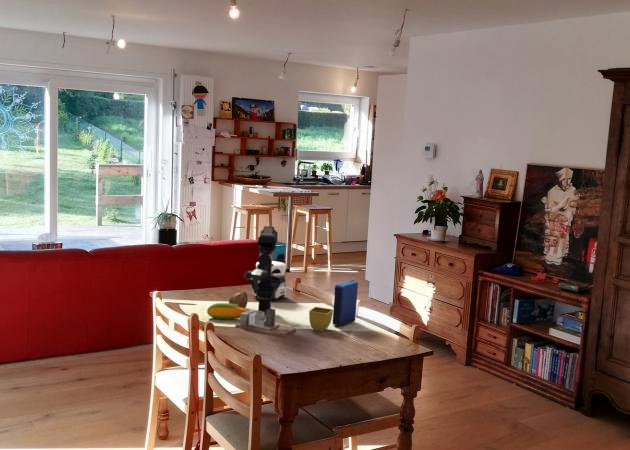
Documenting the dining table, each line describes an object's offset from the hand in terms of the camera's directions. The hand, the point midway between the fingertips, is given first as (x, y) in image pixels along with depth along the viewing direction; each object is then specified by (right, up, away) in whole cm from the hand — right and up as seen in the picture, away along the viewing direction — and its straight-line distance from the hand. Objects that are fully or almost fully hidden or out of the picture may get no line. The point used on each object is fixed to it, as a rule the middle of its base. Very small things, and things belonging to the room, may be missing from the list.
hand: (263, 295), depth 313 cm
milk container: (-1, -6, +45) cm, 45 cm away
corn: (-16, -11, +3) cm, 20 cm away
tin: (-14, -9, +17) cm, 24 cm away
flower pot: (+26, -15, -6) cm, 30 cm away
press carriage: (+1, -12, -9) cm, 15 cm away
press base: (+1, -14, -9) cm, 17 cm away
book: (+37, -14, +5) cm, 40 cm away
